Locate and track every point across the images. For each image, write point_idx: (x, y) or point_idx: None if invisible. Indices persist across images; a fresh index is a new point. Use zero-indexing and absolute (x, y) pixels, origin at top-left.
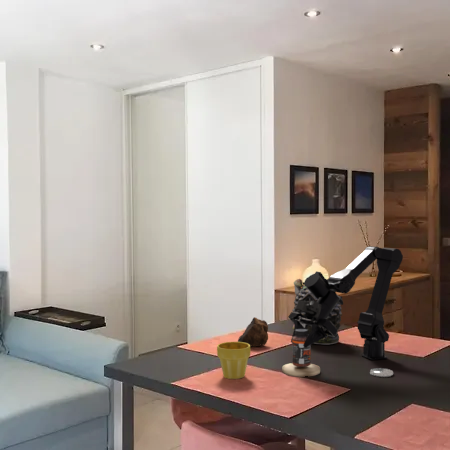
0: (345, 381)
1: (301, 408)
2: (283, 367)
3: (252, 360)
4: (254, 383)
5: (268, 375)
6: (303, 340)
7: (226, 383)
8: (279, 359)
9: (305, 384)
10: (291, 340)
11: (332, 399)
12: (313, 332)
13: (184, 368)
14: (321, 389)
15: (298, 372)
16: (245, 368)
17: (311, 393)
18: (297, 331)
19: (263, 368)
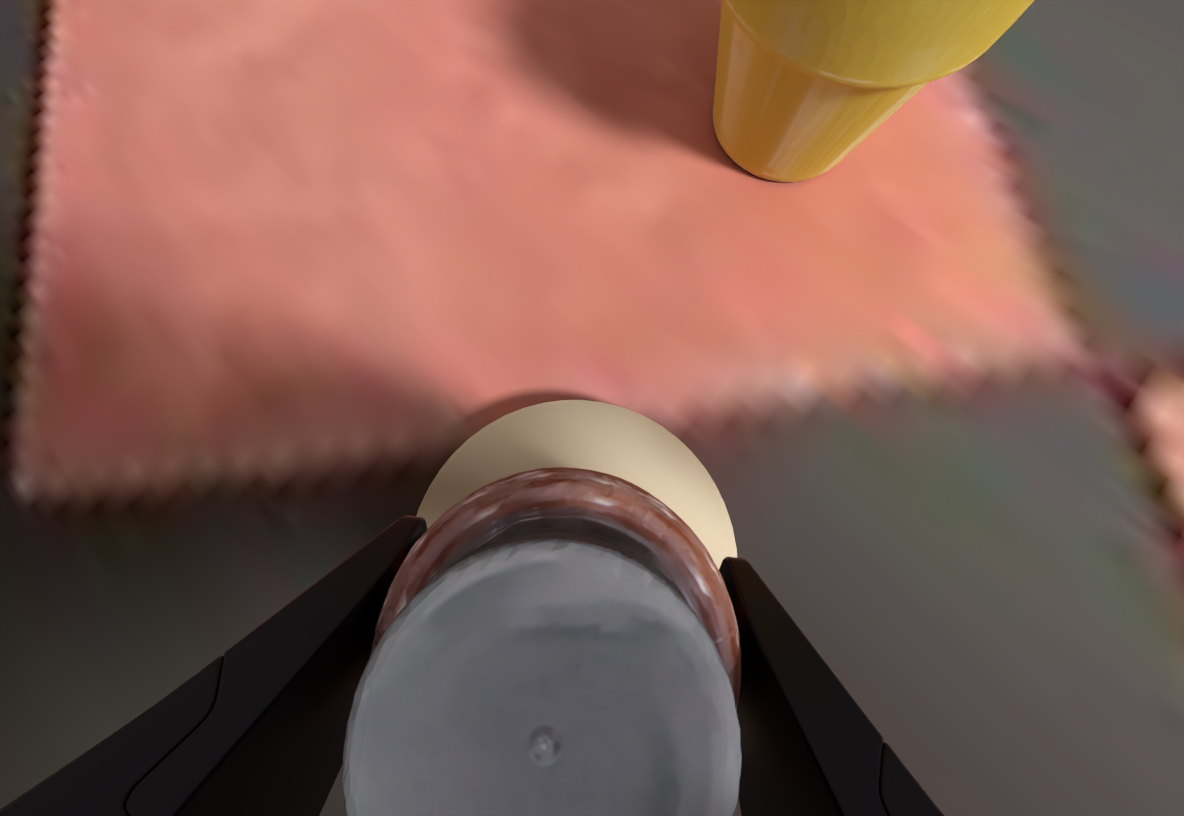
0: (139, 622)
1: (83, 22)
2: (672, 445)
3: (1068, 481)
4: (576, 119)
5: (654, 293)
6: (412, 549)
7: (683, 13)
8: (981, 698)
9: (328, 333)
10: (746, 570)
11: (13, 238)
12: (29, 792)
13: (1101, 18)
14: (178, 333)
15: (485, 431)
16: (729, 103)
17: (183, 228)
18: (537, 541)
19: (820, 387)
